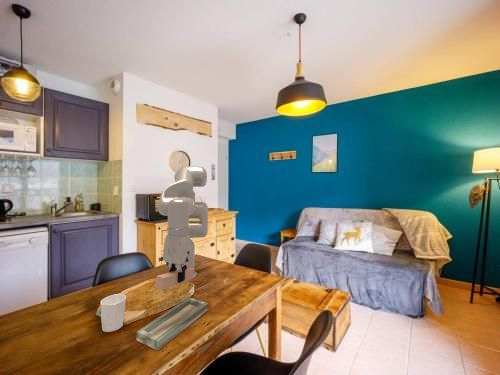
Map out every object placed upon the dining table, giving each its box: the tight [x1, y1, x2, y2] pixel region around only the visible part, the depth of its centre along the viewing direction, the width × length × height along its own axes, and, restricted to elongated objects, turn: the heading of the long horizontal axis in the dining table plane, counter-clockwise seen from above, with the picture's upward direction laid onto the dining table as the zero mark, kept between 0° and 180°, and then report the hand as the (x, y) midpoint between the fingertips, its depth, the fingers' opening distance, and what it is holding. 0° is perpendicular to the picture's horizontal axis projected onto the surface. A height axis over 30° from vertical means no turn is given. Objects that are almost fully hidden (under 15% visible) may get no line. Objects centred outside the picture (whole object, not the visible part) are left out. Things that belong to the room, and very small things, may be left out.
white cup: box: [100, 293, 127, 333], centre depth 81 cm, size 8×8×10 cm
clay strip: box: [154, 267, 195, 291], centre depth 83 cm, size 4×16×4 cm, turn 154°
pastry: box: [95, 304, 101, 317], centre depth 92 cm, size 9×7×4 cm
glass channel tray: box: [135, 297, 209, 352], centre depth 84 cm, size 10×26×3 cm, turn 154°
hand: (177, 279), depth 84 cm, fingers closed on clay strip, 3 cm apart
